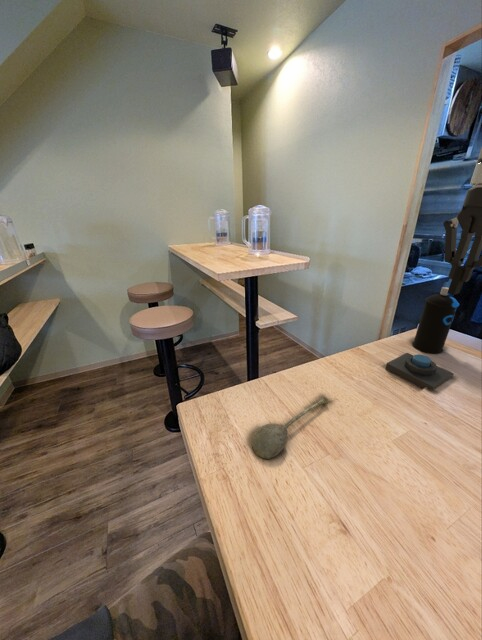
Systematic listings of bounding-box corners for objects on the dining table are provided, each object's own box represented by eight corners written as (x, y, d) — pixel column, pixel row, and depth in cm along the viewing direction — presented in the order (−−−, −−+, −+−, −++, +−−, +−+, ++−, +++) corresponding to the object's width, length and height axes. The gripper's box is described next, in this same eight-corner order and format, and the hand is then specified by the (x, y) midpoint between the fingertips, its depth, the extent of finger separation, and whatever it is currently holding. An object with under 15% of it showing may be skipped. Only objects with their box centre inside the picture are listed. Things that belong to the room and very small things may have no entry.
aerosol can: (409, 348, 81) (426, 289, 73) (415, 338, 86) (431, 282, 78) (440, 357, 76) (463, 294, 67) (444, 346, 81) (465, 287, 73)
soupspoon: (245, 444, 52) (266, 469, 47) (245, 433, 50) (266, 458, 46) (315, 394, 63) (337, 411, 58) (316, 384, 61) (340, 400, 57)
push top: (432, 365, 67) (434, 359, 66) (424, 370, 65) (426, 364, 64) (416, 358, 70) (418, 352, 69) (408, 362, 68) (410, 357, 67)
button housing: (451, 380, 66) (456, 367, 65) (431, 394, 62) (435, 381, 60) (405, 358, 76) (408, 347, 74) (385, 369, 72) (387, 357, 70)
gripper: (447, 187, 56) (417, 288, 66) (528, 184, 46) (478, 304, 56) (463, 188, 59) (433, 284, 70) (542, 184, 49) (493, 297, 59)
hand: (453, 292), depth 63 cm, fingers closed
